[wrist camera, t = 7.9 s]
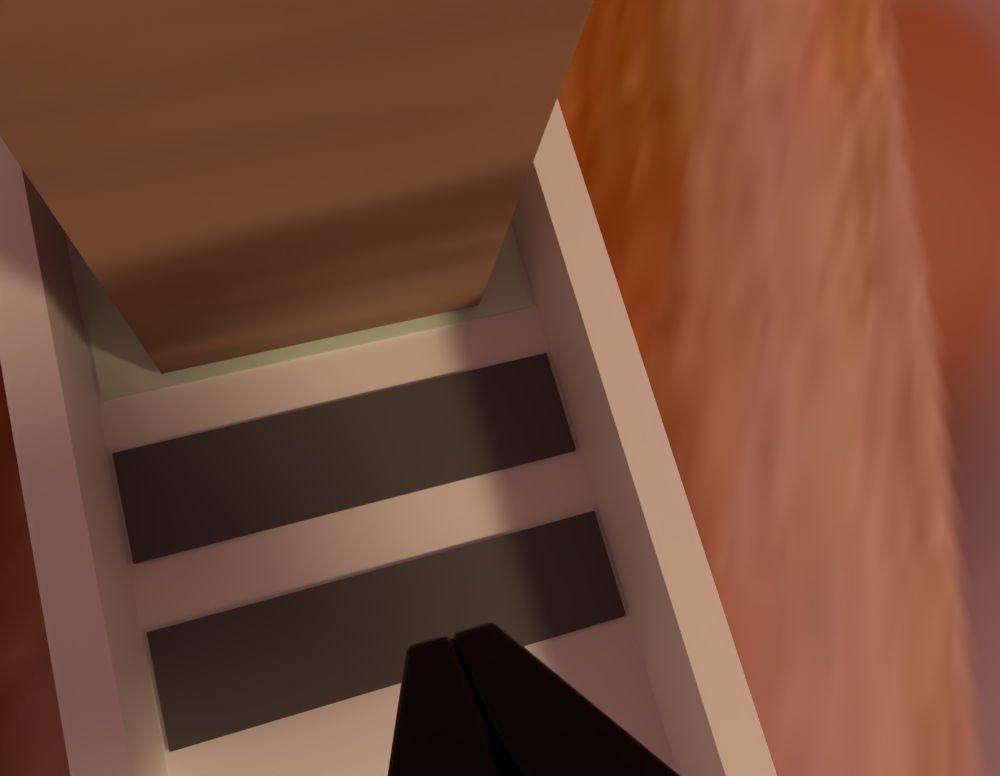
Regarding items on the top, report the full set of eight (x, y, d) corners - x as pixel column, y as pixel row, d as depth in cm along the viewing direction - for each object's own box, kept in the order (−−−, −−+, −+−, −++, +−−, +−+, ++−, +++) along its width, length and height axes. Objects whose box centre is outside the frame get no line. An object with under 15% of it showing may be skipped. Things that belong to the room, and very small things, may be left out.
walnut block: (478, 305, 19) (648, -147, 8) (161, 374, 17) (-130, -55, 7) (414, 80, 20) (489, -574, 9) (111, 130, 18) (-208, -568, 8)
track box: (783, 1028, 17) (888, 1119, 14) (219, 1262, 15) (183, 1436, 12) (473, 26, 22) (496, -88, 18) (6, 97, 20) (-65, -17, 16)
